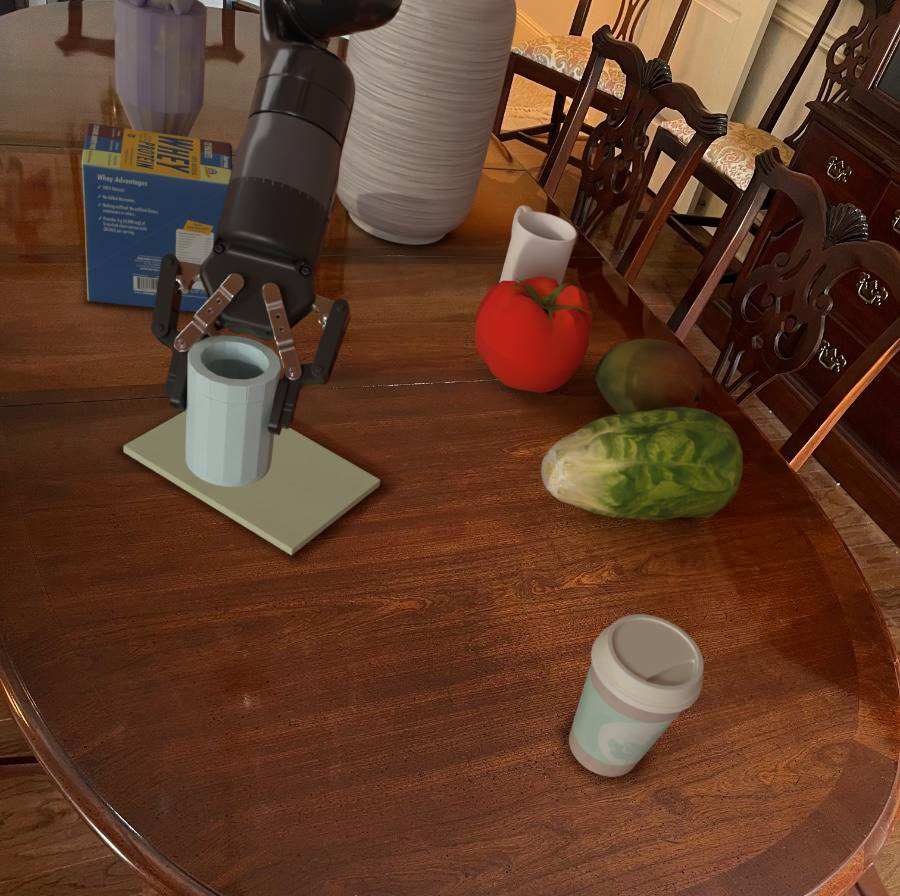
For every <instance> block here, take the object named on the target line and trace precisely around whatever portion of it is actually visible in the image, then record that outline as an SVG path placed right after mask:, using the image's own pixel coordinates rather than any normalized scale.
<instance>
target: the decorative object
mask: <svg viewBox="0 0 900 896" xmlns="http://www.w3.org/2000/svg"><path fill="white" fill-rule="evenodd" d="M207 16H208V8H207V6H206V5H205V4H204V3H203V2H202V1H200V0H113V22H114V25H113V27H114V64H115V65H114V66H115V67H114V68H115V69H114V70H115V72H114V73H115V92H116V95H117V97H118V100H119V102H120V104H121V106H122V108H123V111H124V113H125V115H126V118H127V120H128V122H129V125H130V127H131V129H133V130H140V131H148V132H154V133H161V134H168V135H175V136H183V137H189V135H190V133H191V131H192V130H193V127H194V125H195V123H196V121H197V119H198V117H199V115H200V113H201V111H202V108H203V106H204V98H205V97H204V96H205V74H206V73H205V71H206V47H207V46H206V44H207V19H208V18H207Z"/></svg>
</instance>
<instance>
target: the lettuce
mask: <svg viewBox="0 0 900 896" xmlns="http://www.w3.org/2000/svg"><path fill="white" fill-rule="evenodd" d="M741 446H742V445H741V442H740V440H739V437H738V435H737V434H736V432H735V431H734V429H733V428H732V426H731V424H729V423H728V422H727V421H725V420H724V419H723V418H722V417H720V416H719V415H717V414H715V413H712V412H711V411H708V410H706V409H701V408H696V407H695V408H688V407H673V408H662V409H656V410H651V411H641V412H628V413H620V414H617V413H614V414H611V415H607V416H602V417H600V418H597V419H595V420H592V421H590V422H588V423H586V424H585V425H583V426H582V427H580V428H579V429H577V430H576V431H574V432H572V433H569V434H568V435H566V436H563V437H562V438H560V439H559V440H558V441H556V443H554V444H553V445H551V447H550V448H549V449H548V450H547V451H546V453H545V454H544V456H543V458H542V461H541V466H540V467H541V471H540V475H541V481H542V483H543V486H544V488H545V489H546V490H547V491H548V492H549V494H551V496H553V497H554V498H555V499H556V500H558V501H560V502H561V503H565V504H569V505H572V506H575V507H577V508H580V509H581V510H584V511H585V512H589V513H593V514H597V515H601V516H605V517H611V518H619V519H634V520H640V521H647V522H655V521H656V522H657V521H666V520H667V521H668V520H675V519H681V518H682V519H695V520H696V519H710V518H711V517H713V516H714V515H715V514H716V513H718V512H719V511H721V510H722V509H723V508H725V507H726V506H727V505H728V504H730V503H731V502H732V500H733V499H734V497H735V496H736V494H737V492H738V491H739V489H740V485H741V482H742V481H741V480H742V476H743V472H744V464H743V463H744V462H743V461H744V460H743V458H744V456H743V455H744V454H743V450H742V447H741Z"/></svg>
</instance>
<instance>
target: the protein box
mask: <svg viewBox="0 0 900 896" xmlns="http://www.w3.org/2000/svg"><path fill="white" fill-rule="evenodd" d="M233 153H234V152H233V145H232V143H231V142H226V141H219V140H210V139H202V138H195V137H189V136H188V137H183V136H175V135H168V134H161V133H154V132H148V131H140V130H133V129H132V128H125V127H118V126H111V125H105V124H100V123H99V124H98V123H91V122H89V123H87V127H86V132H85V139H84V144H83V149H82V154H81V163H80V164H81V171H82V172H81V173H82V193H83V217H84V221H83V222H84V242H85V243H84V246H85V249H84V250H85V271H86V272H85V273H86V293H87V294H86V295H87V301H88V302H95V303H102V304H103V303H105V304H114V305H125V306H132V307H133V306H135V307H144V308H153V309H154V305H155V298H156V292H157V285H158V279H159V272H160V266H161V260H162V258H163V256H165V255H167V254H173V255H174V256H176V257H177V259H178V260H179V261H183V262H189V263H195V264H201V265H202V263H203V262H204V261H205V260H206V259H207V258H208V256H209V255H210V253H211V251H212V248H213V244H214V240H215V236H216V232H217V228H218V224H219V220H220V215H221V211H222V207H223V203H224V199H225V195H226V191H227V187H228V183H229V179H230V175H231V171H232V167H233V163H234V159H233ZM208 299H209V298H208V296H207V294H206V291H205V289H204V286H203V284H202V281H197V282H195V283H194V284H193V286H192V289H191V291H190V292H188V293H186V294H182V299H181V306H180V311H183V312H192V313H196V312H197V311H198V310H199V309H200V308H201V307H202V306H203V305H204V304H205V303H206V302H207V301H208ZM210 312H211V311H210Z"/></svg>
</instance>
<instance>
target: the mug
mask: <svg viewBox="0 0 900 896" xmlns="http://www.w3.org/2000/svg"><path fill="white" fill-rule="evenodd" d="M577 236H578V233H577V230H576V228H575V227H574V226H573V225H572V224H571V223H569V222H568V221H566V220H565V219H563V218H561V217H559V216H556V215H553V214H550V213H547V212H541V211H533V209H532V208H531V206H529V205H520V206H518V207H517V209H516V211H515V213H514V216H513V220H512V226H511V238H510V241H509V244H508V248H507V251H506V256H505V259H504V264H503V268H502V270H501V271H502V272H501V275H500V278H499V279H500V280H499V283H500V282H501V281H516V282H517V283H519V282H520V281H518V280H521V281H523V280H525V279H528V278H534V277H540V276H541V277H546V278H552V279H556V281H557V283H558V284H559V286H560V285H562V284H563V280H564V277H565V274H566V271H567V267H568V265H569V262H570V258H571V255H572V252H573V249H574V245H575V242H576V239H577ZM516 279H518V280H516Z"/></svg>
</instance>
